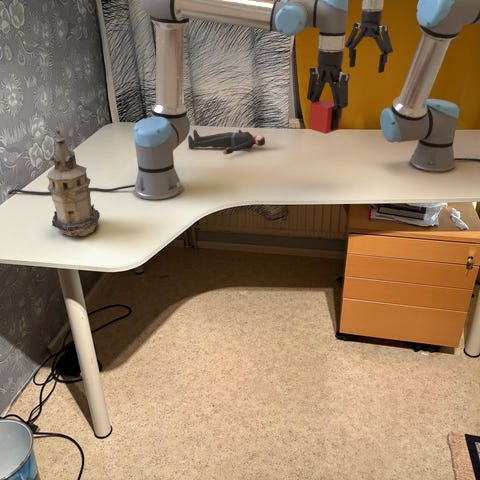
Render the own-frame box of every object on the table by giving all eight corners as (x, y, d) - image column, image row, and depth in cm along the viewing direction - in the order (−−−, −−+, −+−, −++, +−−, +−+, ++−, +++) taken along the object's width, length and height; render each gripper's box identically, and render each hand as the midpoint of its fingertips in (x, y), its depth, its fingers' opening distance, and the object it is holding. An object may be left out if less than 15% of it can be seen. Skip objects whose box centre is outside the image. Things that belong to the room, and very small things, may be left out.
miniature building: (80, 214, 164) (63, 117, 149) (111, 225, 157) (96, 125, 142) (44, 231, 154) (22, 130, 140) (75, 244, 147) (55, 139, 133)
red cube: (325, 133, 164) (327, 107, 160) (308, 128, 169) (310, 103, 165) (340, 128, 169) (343, 103, 165) (323, 123, 173) (325, 99, 169)
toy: (199, 123, 225) (269, 123, 219) (200, 137, 228) (270, 138, 222) (181, 143, 203) (259, 144, 197) (183, 159, 206) (259, 160, 200)
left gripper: (366, 52, 153) (357, 131, 164) (313, 43, 165) (309, 117, 177) (350, 56, 148) (342, 136, 160) (297, 46, 161) (293, 121, 172)
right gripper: (407, 11, 191) (399, 72, 201) (351, 6, 207) (346, 63, 217) (395, 13, 186) (388, 76, 197) (338, 8, 203) (334, 66, 213)
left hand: (324, 126), depth 168 cm, fingers closed on red cube, 7 cm apart
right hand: (366, 69), depth 207 cm, fingers open, 13 cm apart
